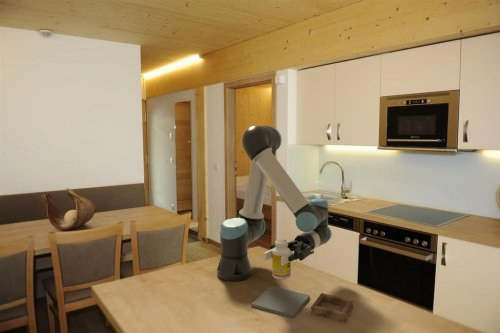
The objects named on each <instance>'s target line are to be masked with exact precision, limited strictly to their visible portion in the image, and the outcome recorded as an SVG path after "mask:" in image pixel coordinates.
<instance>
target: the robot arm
mask: <svg viewBox="0 0 500 333" xmlns="http://www.w3.org/2000/svg"><path fill="white" fill-rule="evenodd" d="M282 141H283V140H282V135H281V133H280V132H279V130H278V129H277V128H275V127H273V126H270V125H253V126H250V127H248V128H246V130H245V131H244V132H243V135H242V137H241V144H242V147H243V149H244V152H245V153H246V155H247V157H248V158H249V159H250V167H249V173H248V178H247V185H246V190H245V196H244V202H243V208H241V209H239V211H238V217H233V218H228V219H225V220H224V221H222V223H220V228H219V236H220V237H219V239H220V243H219V244H220V259H219V261H218V266H217V268H216V276H217V277H218V278H219V279H221V280H223V281H228V282H239V281H245V280H247V279H249V278H250V277H252V275H253V268H252V265H251V262H250V259H249V256H248V254H249V252H248V249H249V248H248V246H249V245H250V244H251V243H253V242H255V241H257V240H259V239H260V238H261V237H262V236H263V235H264V233H265V230H266V221H265V220H264V218H265V215H264V213H263V212H262V210H263V205H264V200H265V194H266V191H267V190H266V189H267V184H268V183H267V182H269V183H270V184H271V186H272V187H273V188H274V190H275V191H276V192H277V194H278V195H279V197H280V198H281V199H282V201H283V202H284V203H285V205H286V207H287V208H288V209H289V211H290V212H291V213H292V215H293V216H294V218H295V226H296V228H297V229H298V230H299V231H301V232H302V233H300V234H298V235H297V236H295V238H294V239H293V240H291V241H288V246H287V248H289V249H290V251H291V253H289V254H287V255H285V256H283V257H281V265H285V264H287V263H288V262H290V261H291V262H292V261H297V260H299V261H303V260H305V259H306V258H307V257H308V256H311V255H312V254H315V249H316V248H319V247H321V246H322V245H325V244H327V243H328V242H329V241H330V240H331V238H332V235H333V233H332V230H331V228H330V227H329V225H328V224H329V223H328V222H329V220H328V219H329V201H328V200H327V199H325V198H318V197H317V198H312V199H310V200H309V201H308V200H307V199H306V197H305V196H304V194H303V193H302V192H301V190H300V189H299V188H298V186H297V184H295V182H294V181H293V179H292V178H291V177H290V175H289V174H288V173H287V172H286V170H285V169H284V167H283V166H282V164H281V163H280V162H279V160H278V159H277V158H276V154H277V150H278V149H279V148H280V147H281V145H282ZM275 247H276V246H275V243H273V244H271V245H269V250H267V251H265V252H263V260H264V261H265V262H266V261H267V260H270V259H272V250H273V249H274V248H275Z"/></svg>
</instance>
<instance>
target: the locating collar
mask: <svg viewBox="0 0 500 333" xmlns="http://www.w3.org/2000/svg"><path fill="white" fill-rule="evenodd" d="M325 303H327V304H331V305H334V306H339V307H344V308H343V309H342V311H339V310H334V309H330V308H327V307H323V305H324V304H325ZM353 308H354V299H351V298H345V297H341V296H337V295H334V294H333V295H331V294H329V293H323V292H321V293H320V294H319V296H318V297H317V298H316V299H315V301H314V302H313V304H312V305H311V307H310V314H311V315H313V316H318V317H321V318H325V319H329V320H333V321H336V322H340V323H345V324H346V321H347V319H348V318H349V315H350V314H351V312H352V310H353Z"/></svg>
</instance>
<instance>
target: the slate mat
mask: <svg viewBox="0 0 500 333" xmlns="http://www.w3.org/2000/svg"><path fill="white" fill-rule="evenodd" d="M310 296H311V295H310V294H307V293H302V292H298V291H294V290H289V289H285V288H281V287H277V286H273V285H270V286H269V287H268V288H267V289H266V290H265V291H263V292H262V293H261V294H260V295H259V296H258V297H257V298H256V299H255V300H254V301H252V302H251V305H250V306H251V307H252V308H255V309H259V310H262V311H266V312H270V313H273V314H274V313H275V314H277V315H278V314H279V315H281V316H284V317H288V318H292V319H294V318H295V317H296V316H297V314H298V313H299V312H300V311H301V309H302V308H303V306H304V305H305V304H306V303H307V302H308V301H309V299H310V298H311V297H310Z"/></svg>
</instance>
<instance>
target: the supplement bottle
mask: <svg viewBox="0 0 500 333" xmlns="http://www.w3.org/2000/svg"><path fill="white" fill-rule="evenodd" d="M288 242H289V241H288V240H286V239H276V240H275V241H274V244H275V246H276V247H275V248H274V249H273V250H272V258H271V260H272V262H271V263H272V264H271V265H272V266H271V275H272V277H273V278H274V279H277V280H288V279H289V278H290V277H291V272H292V270H291V269H292V267H291V262H292V261H290V262H288V263H287V264H285V265H281V257H283V256H285V255H287V254H289V253H291V251H290V249H289V248H287V246H288Z"/></svg>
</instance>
